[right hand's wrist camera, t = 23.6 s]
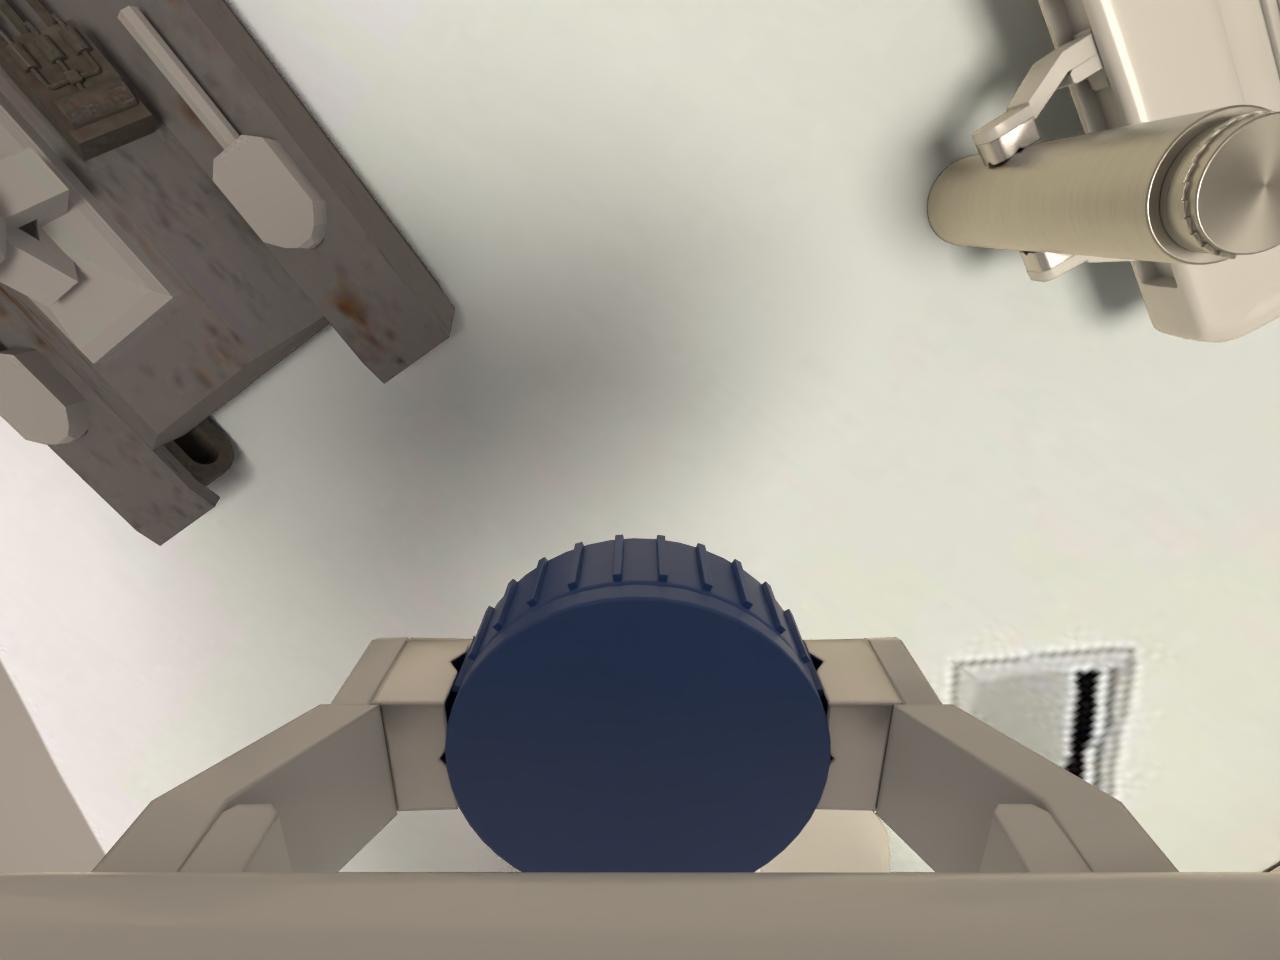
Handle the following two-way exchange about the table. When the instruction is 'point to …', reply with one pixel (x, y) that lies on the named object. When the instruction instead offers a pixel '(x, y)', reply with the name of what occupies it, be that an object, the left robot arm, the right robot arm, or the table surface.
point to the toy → (174, 244)
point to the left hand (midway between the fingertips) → (1008, 211)
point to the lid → (638, 716)
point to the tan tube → (1126, 192)
